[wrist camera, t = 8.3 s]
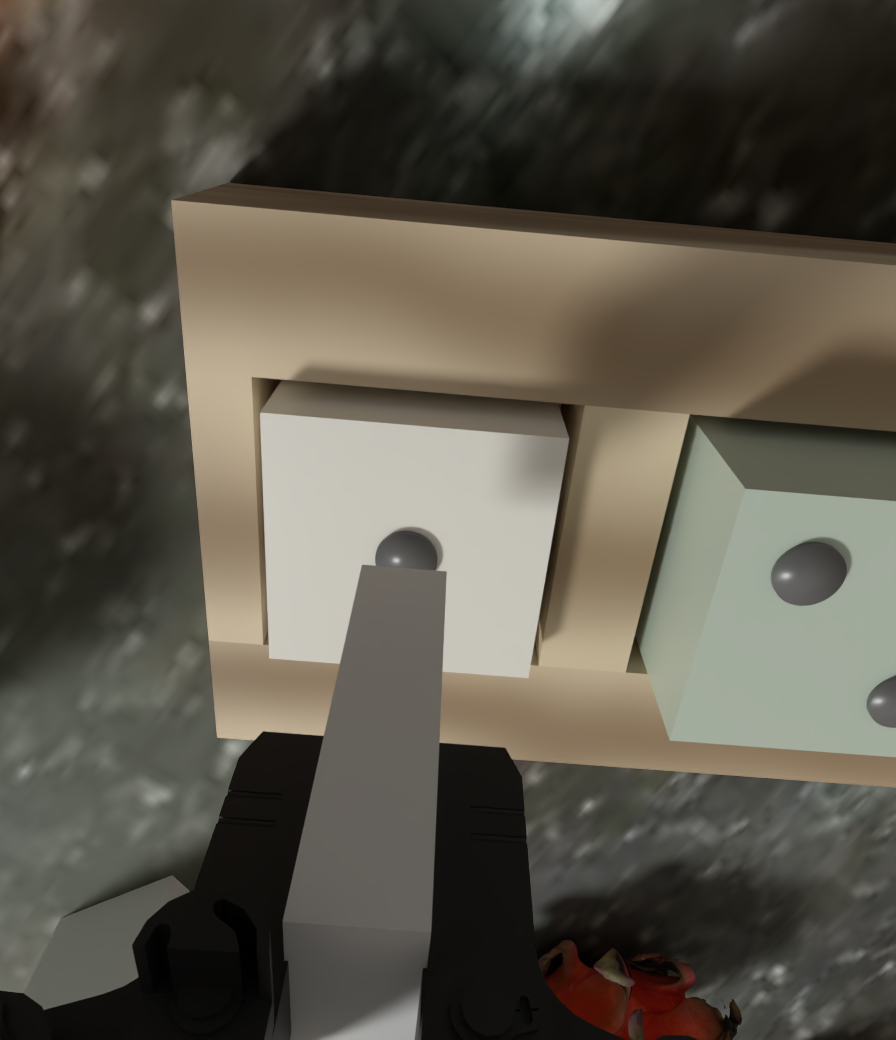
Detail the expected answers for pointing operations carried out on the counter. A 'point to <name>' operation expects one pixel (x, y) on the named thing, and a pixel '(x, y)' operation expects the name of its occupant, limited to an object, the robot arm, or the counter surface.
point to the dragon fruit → (636, 996)
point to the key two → (776, 589)
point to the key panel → (523, 376)
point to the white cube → (97, 946)
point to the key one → (409, 513)
